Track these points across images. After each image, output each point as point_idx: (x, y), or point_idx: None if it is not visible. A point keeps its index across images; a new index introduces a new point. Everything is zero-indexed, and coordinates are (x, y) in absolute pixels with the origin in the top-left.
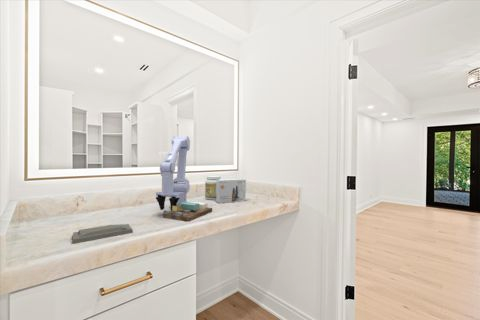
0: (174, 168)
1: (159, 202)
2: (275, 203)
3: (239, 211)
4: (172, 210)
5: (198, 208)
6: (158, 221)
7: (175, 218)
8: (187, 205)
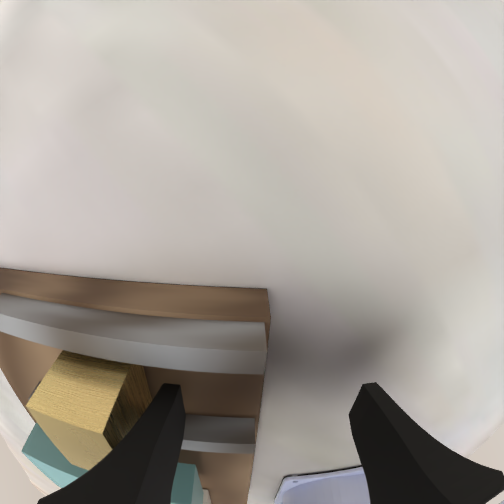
0: None
1: (422, 455)
2: None
3: None
4: (122, 376)
5: None
6: (197, 126)
7: (76, 282)
8: (82, 470)
